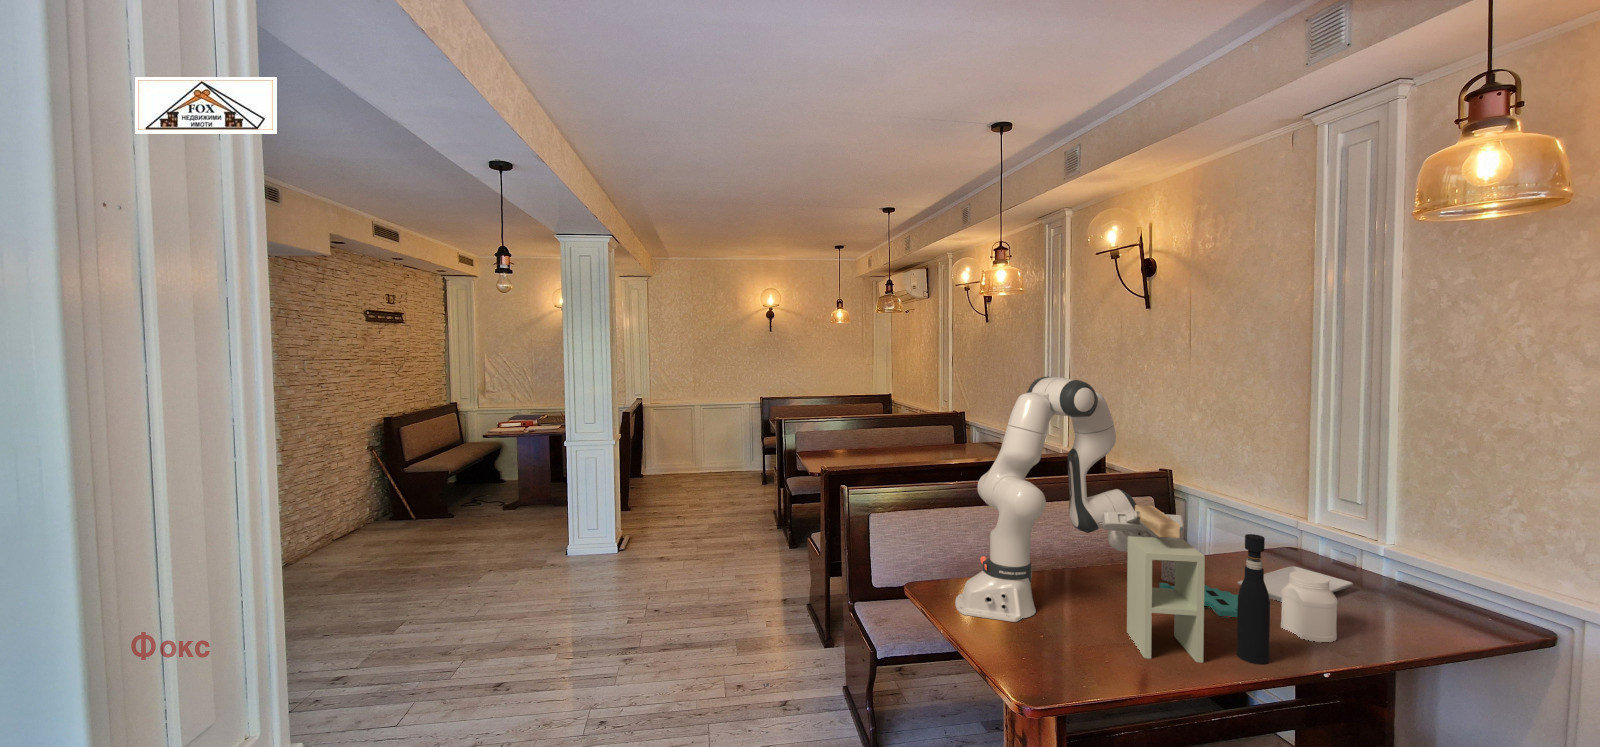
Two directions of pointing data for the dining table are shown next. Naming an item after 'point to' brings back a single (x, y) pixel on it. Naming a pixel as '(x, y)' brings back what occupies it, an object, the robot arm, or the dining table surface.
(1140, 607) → the shelf stand
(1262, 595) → the wine bottle
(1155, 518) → the block
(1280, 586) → the tray
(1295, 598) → the jar
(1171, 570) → the grey speckled cup
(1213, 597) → the alien figure
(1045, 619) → the dining table surface
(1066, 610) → the dining table surface
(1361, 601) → the dining table surface
